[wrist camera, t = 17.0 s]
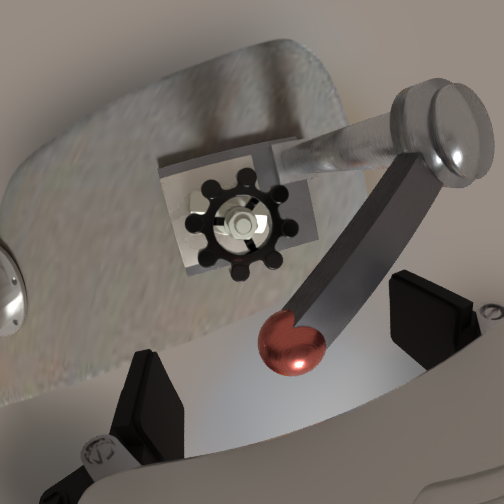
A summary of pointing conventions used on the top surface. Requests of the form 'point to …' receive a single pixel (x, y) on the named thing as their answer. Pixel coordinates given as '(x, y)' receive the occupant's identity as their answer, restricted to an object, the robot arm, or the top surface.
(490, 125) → the press
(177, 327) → the top surface
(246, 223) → the valve
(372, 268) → the lever
